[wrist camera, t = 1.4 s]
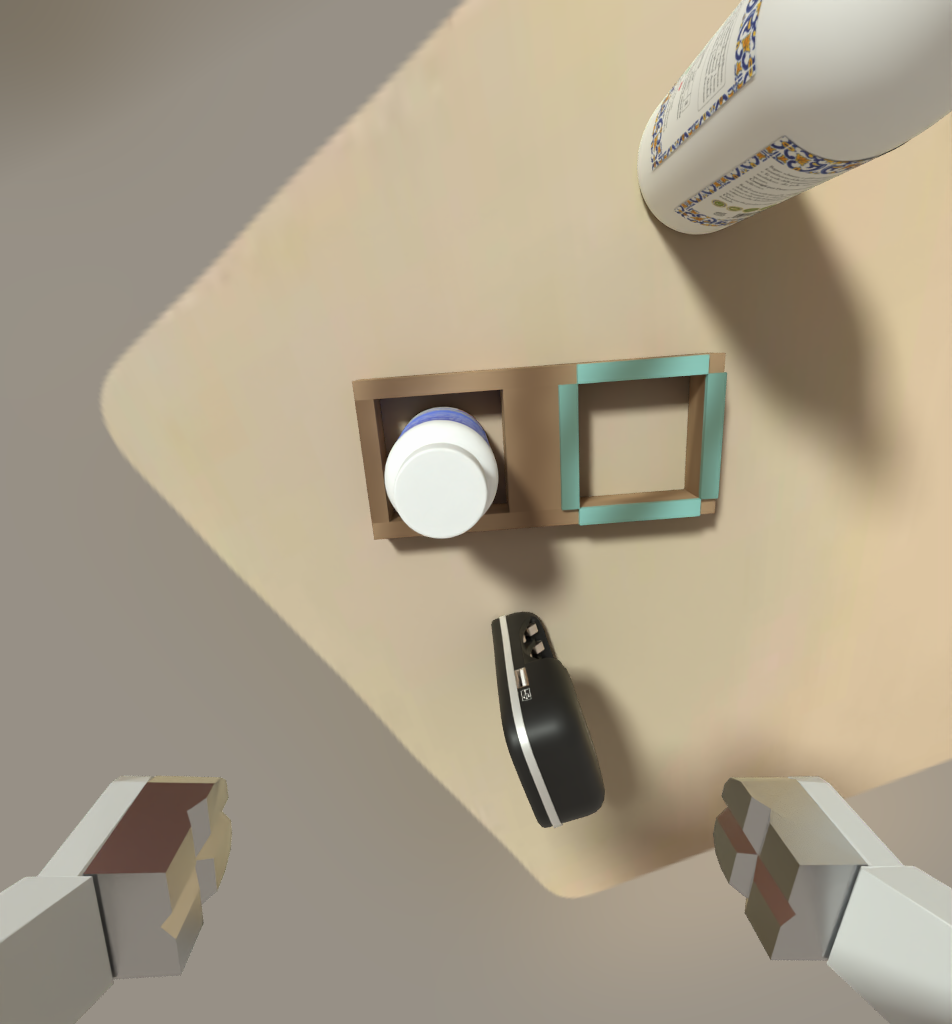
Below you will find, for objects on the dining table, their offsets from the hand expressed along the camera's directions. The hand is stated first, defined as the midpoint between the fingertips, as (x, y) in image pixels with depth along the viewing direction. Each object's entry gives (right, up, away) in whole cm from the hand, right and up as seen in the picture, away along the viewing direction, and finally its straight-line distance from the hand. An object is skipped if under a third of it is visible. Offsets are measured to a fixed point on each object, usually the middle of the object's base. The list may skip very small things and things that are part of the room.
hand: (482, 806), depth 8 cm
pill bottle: (-2, +9, +23) cm, 24 cm away
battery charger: (+4, -4, +27) cm, 27 cm away
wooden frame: (+4, +9, +22) cm, 24 cm away
